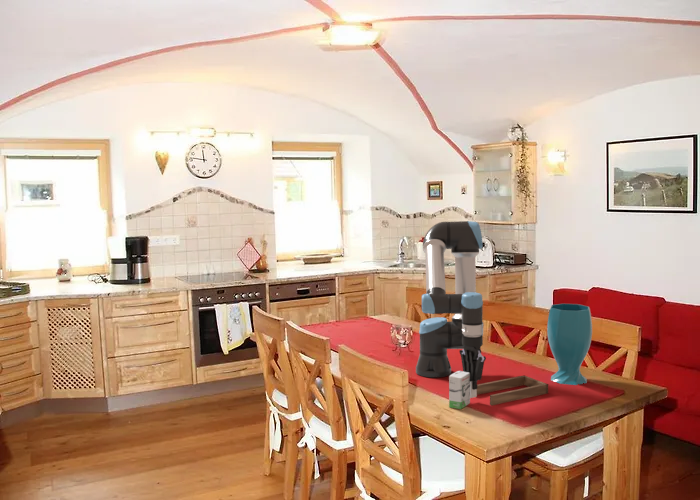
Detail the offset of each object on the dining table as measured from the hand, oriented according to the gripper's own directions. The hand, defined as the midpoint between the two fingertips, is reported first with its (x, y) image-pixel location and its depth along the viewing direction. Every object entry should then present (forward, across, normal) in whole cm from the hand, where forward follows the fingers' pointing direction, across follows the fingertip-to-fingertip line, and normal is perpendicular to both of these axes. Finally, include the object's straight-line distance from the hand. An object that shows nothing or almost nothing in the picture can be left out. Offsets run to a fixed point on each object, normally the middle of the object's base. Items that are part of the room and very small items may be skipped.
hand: (472, 396), depth 246 cm
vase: (+2, -2, +50) cm, 50 cm away
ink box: (+2, 0, -6) cm, 7 cm away
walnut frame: (+2, 0, +17) cm, 18 cm away
